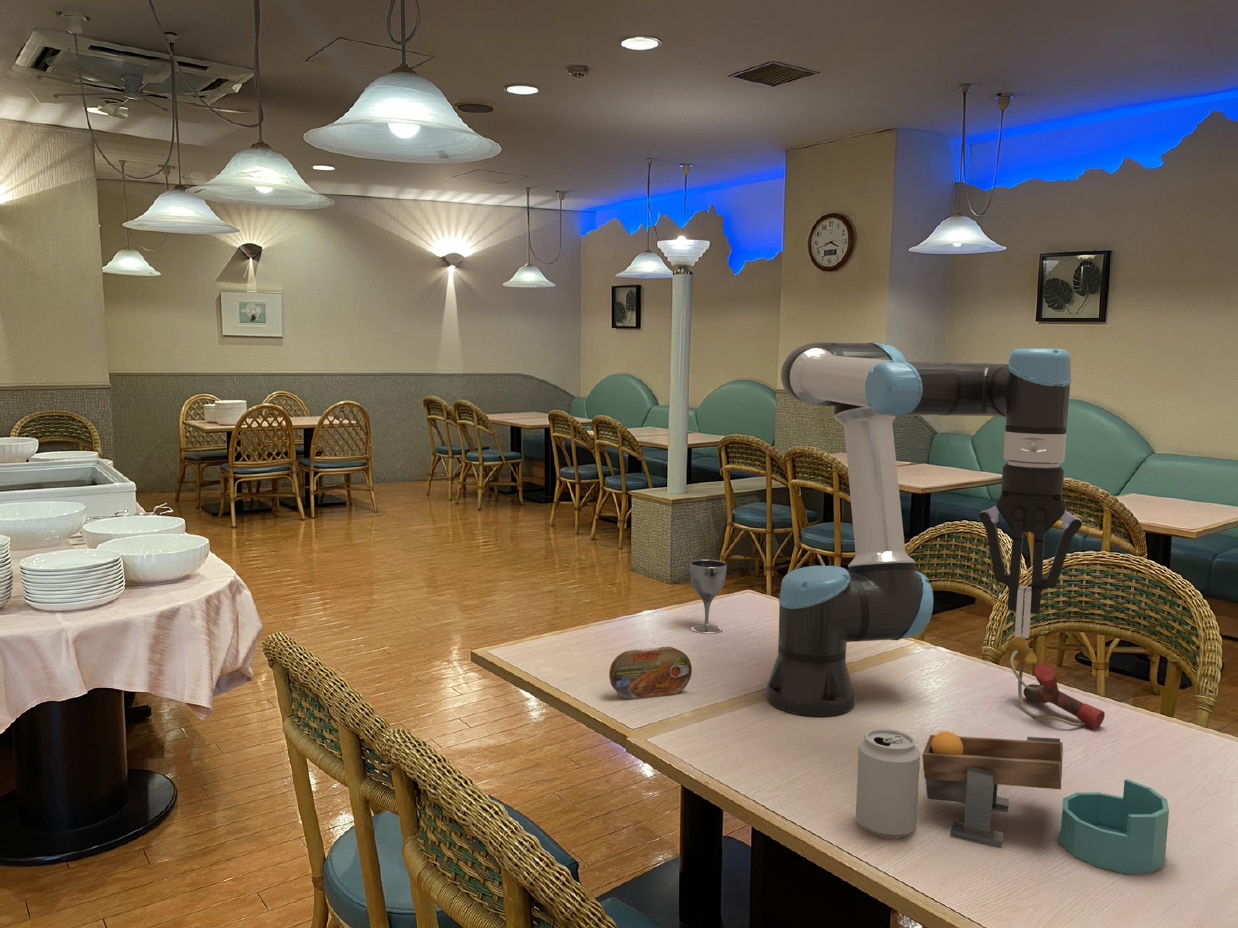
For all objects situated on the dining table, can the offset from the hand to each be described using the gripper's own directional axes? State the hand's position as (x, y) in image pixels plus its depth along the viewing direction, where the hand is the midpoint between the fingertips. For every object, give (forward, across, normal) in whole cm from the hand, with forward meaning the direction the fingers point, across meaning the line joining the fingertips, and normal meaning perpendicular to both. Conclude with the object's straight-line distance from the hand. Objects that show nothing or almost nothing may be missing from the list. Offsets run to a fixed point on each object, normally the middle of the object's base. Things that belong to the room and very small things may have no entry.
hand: (1022, 634), depth 125 cm
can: (+23, -14, -19) cm, 32 cm away
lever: (+19, -2, -8) cm, 20 cm away
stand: (+22, -3, -11) cm, 25 cm away
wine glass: (+23, -66, +52) cm, 87 cm away
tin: (+23, -60, +9) cm, 65 cm away
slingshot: (+23, +3, +33) cm, 40 cm away
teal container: (+22, +12, -11) cm, 28 cm away
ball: (+14, -8, -11) cm, 19 cm away
